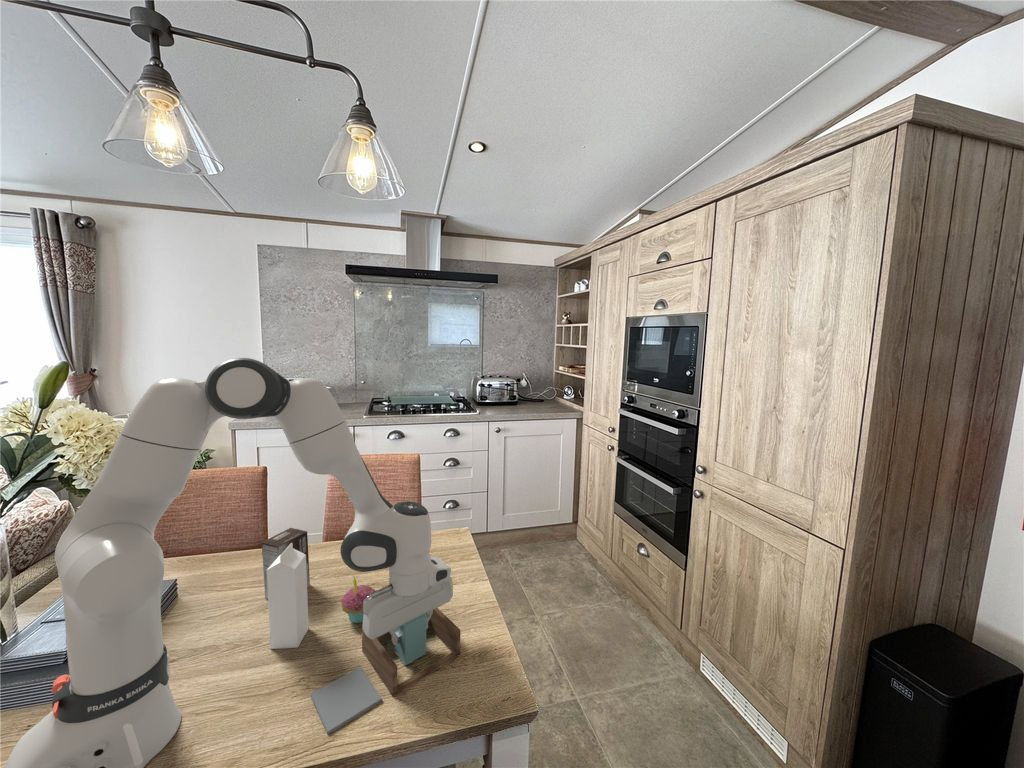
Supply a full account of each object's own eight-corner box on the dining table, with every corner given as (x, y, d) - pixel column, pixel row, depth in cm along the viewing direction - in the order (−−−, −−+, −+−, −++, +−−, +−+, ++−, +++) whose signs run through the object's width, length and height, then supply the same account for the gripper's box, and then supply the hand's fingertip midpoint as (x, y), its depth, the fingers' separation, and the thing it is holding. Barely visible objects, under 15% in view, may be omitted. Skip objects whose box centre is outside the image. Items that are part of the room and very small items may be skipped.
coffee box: (293, 579, 114) (291, 526, 112) (310, 585, 112) (308, 530, 110) (263, 599, 106) (260, 541, 104) (281, 605, 103) (279, 546, 102)
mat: (327, 734, 70) (327, 731, 70) (310, 696, 78) (310, 693, 78) (381, 701, 77) (381, 698, 77) (361, 668, 84) (361, 666, 84)
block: (405, 665, 85) (405, 626, 84) (394, 651, 89) (394, 614, 88) (426, 653, 88) (426, 616, 87) (414, 640, 92) (415, 604, 91)
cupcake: (365, 631, 95) (364, 584, 94) (333, 625, 97) (332, 579, 95) (383, 607, 103) (383, 564, 102) (354, 602, 105) (353, 559, 104)
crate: (392, 696, 78) (392, 668, 77) (362, 651, 89) (361, 626, 88) (460, 654, 89) (460, 629, 88) (425, 618, 100) (425, 596, 99)
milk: (270, 649, 89) (264, 556, 86) (282, 629, 95) (277, 542, 92) (298, 647, 90) (294, 555, 87) (309, 628, 96) (305, 541, 93)
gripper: (369, 604, 77) (370, 669, 79) (457, 566, 91) (456, 622, 93) (357, 588, 82) (357, 650, 83) (442, 554, 96) (441, 608, 97)
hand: (410, 635), depth 88 cm, fingers closed on block, 5 cm apart
